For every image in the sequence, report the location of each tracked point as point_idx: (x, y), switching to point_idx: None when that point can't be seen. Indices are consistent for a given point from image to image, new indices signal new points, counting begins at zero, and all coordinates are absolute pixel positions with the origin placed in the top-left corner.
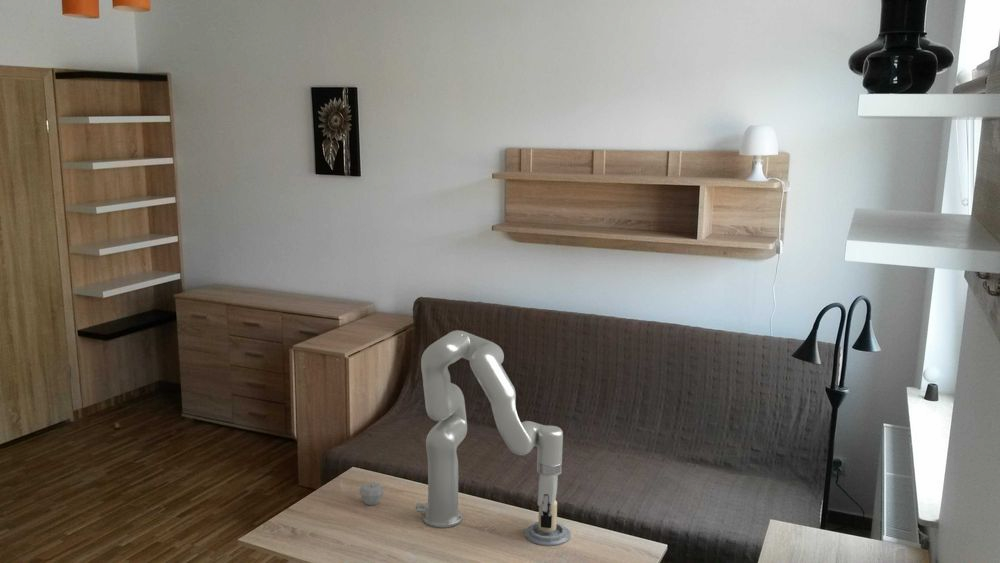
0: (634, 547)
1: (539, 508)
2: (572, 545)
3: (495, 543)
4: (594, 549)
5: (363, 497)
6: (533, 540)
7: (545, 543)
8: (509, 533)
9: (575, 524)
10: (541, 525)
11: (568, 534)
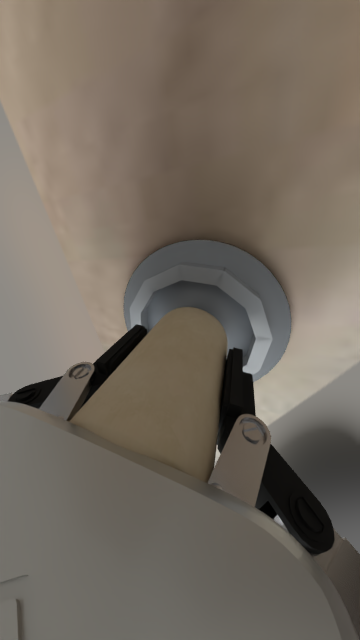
0: None
1: (121, 376)
2: None
3: (78, 82)
4: None
5: None
6: (133, 279)
7: (126, 317)
8: (191, 147)
9: (275, 412)
10: (133, 329)
11: None
